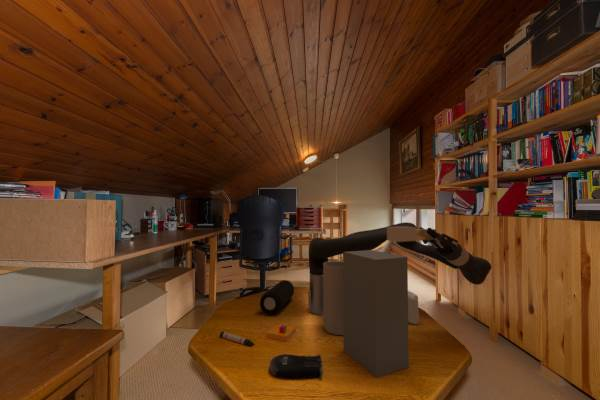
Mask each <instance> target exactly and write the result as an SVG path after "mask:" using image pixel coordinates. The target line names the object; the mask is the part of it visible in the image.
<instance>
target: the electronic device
mask: <svg viewBox="0 0 600 400" xmlns="http://www.w3.org/2000/svg"><path fill="white" fill-rule="evenodd" d="M268 369H269V371H270V373H271V374H272V375H273V376H275V377H277V378H283V379H284V378H286V379H305V378H306V379H307V378H315V377H317V378H320V380H322V378H323V372H324V369H323V361H322V355H321V354H317V355H314V356H311V355H294V354H288V353H287V354H286V353H283V354H278V355H276V356H273V358H272V359H270V362H269V368H268Z"/></svg>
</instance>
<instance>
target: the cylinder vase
mask: <svg viewBox="0 0 600 400" xmlns="http://www.w3.org/2000/svg"><path fill="white" fill-rule="evenodd" d="M322 317H323V319H322V321H323V323H322V325H323V329H324V331H326V332H327V333H328V334H332V335H336V336H343V260H331V261H329V260H328V262H325V263H323V315H322Z"/></svg>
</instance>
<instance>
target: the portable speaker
mask: <svg viewBox="0 0 600 400" xmlns="http://www.w3.org/2000/svg"><path fill="white" fill-rule="evenodd" d="M294 293H295V287H294V284H293V283H292V282H291V281H289V280H286V279H285V280H280V281H279V282H278V283H277V284H275V285H273V287H271V288H270V289H268V290H267V291H266V292H264V293H263V294H262V295H261V297H260V300H259V301H260V302H259V306H260V307H259V308H260V309H261V311H262V312H263V313H265V314H266V315H275V314H276V313H278V312H279V311H280V310H281V309H282V308H283V307H284V306H285V305H286V304H287V302H289V300H291V299H292V297H293V296H294Z"/></svg>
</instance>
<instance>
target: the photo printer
mask: <svg viewBox="0 0 600 400" xmlns="http://www.w3.org/2000/svg"><path fill="white" fill-rule="evenodd" d="M419 316H420V315H419V297H418V295H417V294H416V293H414V292H412V291H409V290H408V324H413V325H418V324H419V319H420V318H419Z"/></svg>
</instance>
